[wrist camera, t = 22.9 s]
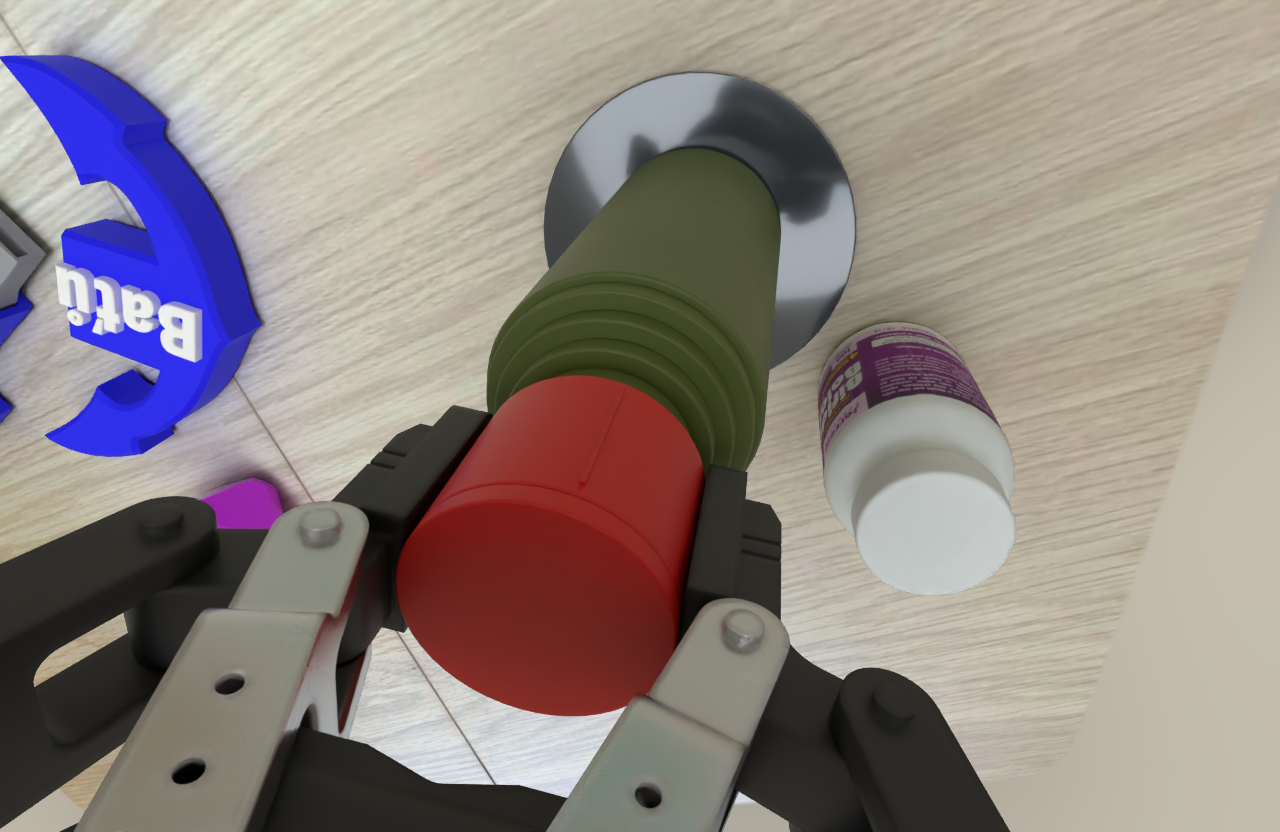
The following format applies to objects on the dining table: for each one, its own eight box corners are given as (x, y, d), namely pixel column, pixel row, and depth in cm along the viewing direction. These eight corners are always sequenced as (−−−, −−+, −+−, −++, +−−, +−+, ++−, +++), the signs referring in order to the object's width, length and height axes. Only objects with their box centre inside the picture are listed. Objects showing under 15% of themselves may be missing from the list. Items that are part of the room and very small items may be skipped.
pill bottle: (817, 319, 27) (831, 444, 19) (972, 315, 26) (1062, 445, 18) (814, 449, 29) (826, 612, 21) (957, 450, 28) (1030, 622, 20)
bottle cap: (510, 336, 12) (415, 453, 9) (742, 423, 12) (723, 568, 9) (466, 517, 15) (378, 658, 12) (663, 590, 15) (626, 751, 12)
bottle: (782, 143, 24) (745, 423, 9) (780, 318, 27) (749, 744, 12) (600, 152, 25) (303, 411, 10) (617, 318, 28) (406, 705, 13)
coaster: (865, 58, 23) (867, 59, 23) (846, 381, 28) (847, 388, 27) (529, 82, 25) (524, 83, 25) (565, 379, 30) (561, 385, 29)
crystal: (190, 507, 37) (117, 564, 33) (245, 449, 35) (173, 503, 30) (272, 576, 38) (210, 639, 34) (330, 524, 36) (271, 585, 32)
